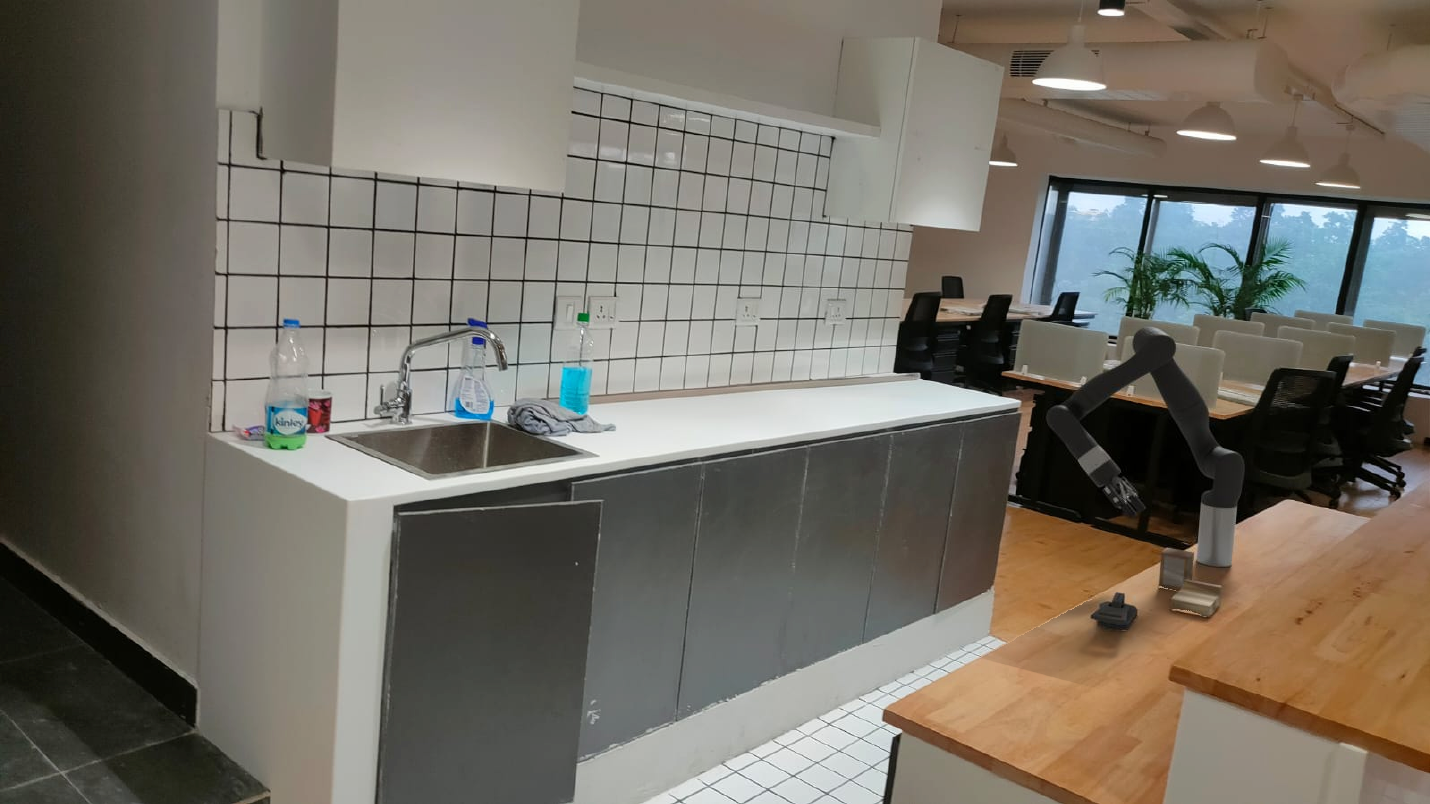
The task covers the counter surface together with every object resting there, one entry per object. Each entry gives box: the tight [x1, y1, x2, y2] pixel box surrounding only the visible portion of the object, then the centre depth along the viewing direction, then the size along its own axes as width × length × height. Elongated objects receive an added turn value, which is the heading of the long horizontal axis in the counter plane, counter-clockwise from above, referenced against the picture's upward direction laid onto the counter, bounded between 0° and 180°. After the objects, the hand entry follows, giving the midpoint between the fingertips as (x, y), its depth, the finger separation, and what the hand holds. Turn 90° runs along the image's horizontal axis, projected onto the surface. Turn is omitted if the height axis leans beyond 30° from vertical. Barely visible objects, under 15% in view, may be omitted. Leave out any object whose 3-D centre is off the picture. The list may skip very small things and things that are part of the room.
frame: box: [1158, 547, 1195, 592], centre depth 284 cm, size 5×7×10 cm
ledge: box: [1169, 579, 1223, 618], centre depth 270 cm, size 12×9×5 cm
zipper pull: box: [1090, 591, 1139, 632], centre depth 257 cm, size 9×7×25 cm
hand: (1138, 513), depth 287 cm, fingers open, 8 cm apart
